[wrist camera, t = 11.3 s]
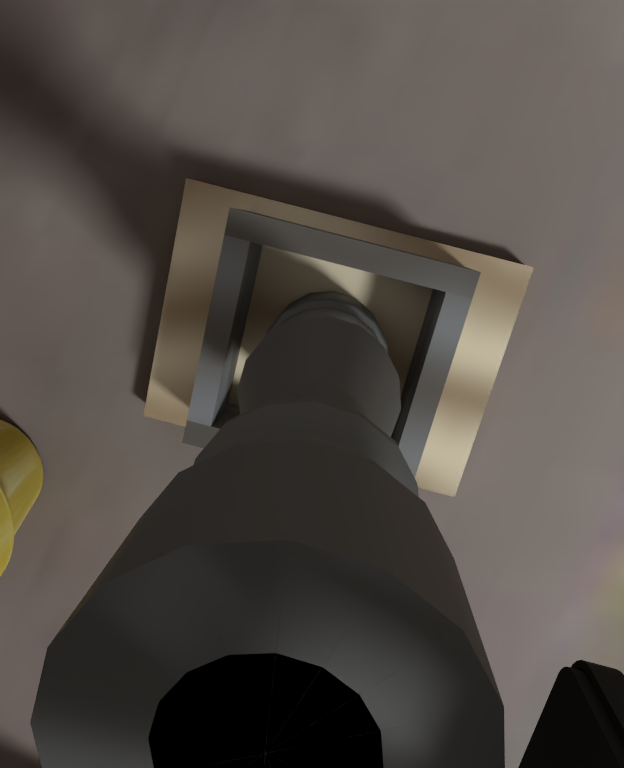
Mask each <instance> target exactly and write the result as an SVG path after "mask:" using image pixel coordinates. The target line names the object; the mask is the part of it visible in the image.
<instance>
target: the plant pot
mask: <svg viewBox="0 0 624 768" xmlns="http://www.w3.org/2000/svg"><path fill="white" fill-rule="evenodd" d="M42 483H43V467H42V462H41V459H40V456H39V454H38V452H37V450H36V448H35V447H34V445H33V443H32V442H31V441H30V440H29V438H28V437H27V436H26V435H25V434H24V433H22V432H21V431H20V430H19V429H18V428H16V427H15V426H13V425H11V424H10V423H8V422H5V421H3V420H0V576H1V575H2V573H3V572H4V570H5V568H6V566H7V564H8V562H9V559H10V557H11V554H12V549H13V544H14V535H15V534H16V532H17V530H18V529H19V527H20V525H21V524H22V522H23V520H24V519H25V517H26V515H27V514H28V512H29V510H30V509H31V507H32V506H33V504H34V502H35V501H36V499H37V497H38V495H39V494H40V491H41V488H42Z"/></svg>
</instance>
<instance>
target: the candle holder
mask: <svg viewBox="0 0 624 768" xmlns="http://www.w3.org/2000/svg"><path fill="white" fill-rule="evenodd" d="M237 393H238V401H239V409H240V415H239V416H237V417H235V418H233V419H230V420H228V421H227V422H226V423H225V424H224V425H223V426H222V428H221V429H220V430H219V431H218V432H217V434H216V435H215V436H214V437H213V438H212V439H211V441H210V442H209V443H208V444H207V445H206V447H205V448H204V449H203V450H202V451H201V453H200V454H199V455H198V456H197V458H196V459H195V462H194V465H193V466H191V467H189V468H187V469H185V470H183V471H181V472H179V473H178V474H177V475H176V476H175V477H174V479H173V480H172V481H171V482H170V483H169V485H168V486H167V487H166V488H165V489H164V491H163V492H162V493H161V494H160V495H159V497H158V498H157V499H156V500H155V501H154V502H153V504H152V505H151V506H150V507H149V508H148V510H147V511H146V512H145V513H144V514H143V516H142V517H141V518H140V519H139V521H138V522H137V523H136V525H135V526H134V528H133V529H132V530H131V532H130V533H129V534H128V536H127V537H126V539H125V540H124V541H123V543H122V544H121V546H120V547H119V548H118V550H117V551H116V553H115V554H114V555H113V557H112V558H111V560H110V561H109V562H108V564H107V565H106V567H105V568H104V569H103V571H102V572H101V574H100V575H99V576H98V578H97V579H96V581H95V582H94V583H93V585H92V586H91V588H90V589H89V590H88V592H87V593H86V595H85V596H84V597H83V599H82V600H81V602H80V603H79V604H78V606H77V607H76V609H75V610H74V611H73V613H72V614H71V616H70V617H69V618H68V620H67V621H66V623H65V624H64V625H63V627H62V628H61V630H60V631H59V632H58V634H57V635H56V637H55V638H54V639H53V641H52V642H51V644H50V645H49V646H48V648H47V652H46V657H45V661H44V665H43V670H42V674H41V678H40V683H39V687H38V692H37V696H36V700H35V705H34V709H33V714H32V718H31V722H30V723H31V727H32V731H33V735H34V739H35V743H36V747H37V751H38V755H39V759H40V763H41V767H42V768H505V756H504V706H503V703H502V700H501V697H500V694H499V691H498V688H497V685H496V682H495V679H494V676H493V673H492V670H491V667H490V664H489V661H488V658H487V655H486V652H485V649H484V646H483V643H482V640H481V637H480V635H479V632H478V629H477V626H476V623H475V620H474V617H473V614H472V611H471V608H470V605H469V602H468V599H467V596H466V593H465V590H464V587H463V584H462V581H461V578H460V575H459V572H458V569H457V566H456V563H455V560H454V558H453V556H452V554H451V552H450V550H449V548H448V546H447V544H446V542H445V540H444V538H443V536H442V534H441V533H440V531H439V529H438V527H437V525H436V523H435V521H434V519H433V517H432V515H431V513H430V511H429V509H428V507H427V505H426V504H425V502H424V501H422V500H421V499H420V498H419V497H418V485H417V482H416V480H415V478H414V476H413V474H412V472H411V470H410V468H409V466H408V464H407V462H406V460H405V458H404V456H403V455H402V453H401V451H400V449H399V447H398V445H397V443H396V441H395V440H394V439H392V438H391V435H392V432H393V430H394V427H395V424H396V422H397V419H398V416H399V413H400V411H401V399H400V381H399V376H398V373H397V371H396V369H395V367H394V365H393V363H392V361H391V359H390V357H389V355H388V345H387V342H386V340H385V337H384V335H383V332H382V330H381V328H380V326H379V324H378V322H377V320H376V318H375V316H374V314H373V313H372V312H371V311H370V310H369V309H367V308H366V307H365V306H364V305H363V304H362V303H360V302H359V301H358V300H357V299H356V298H353V297H350V296H347V295H344V294H341V293H338V292H335V291H327V292H316V293H309V294H307V295H305V296H303V297H301V298H299V299H297V300H296V301H294V302H292V303H290V304H289V305H288V306H287V307H286V308H285V310H284V311H283V312H282V313H281V314H280V316H279V317H278V318H277V319H276V321H275V322H274V323H273V324H272V326H271V327H270V328H269V329H268V331H267V333H266V336H265V337H264V338H263V340H262V341H261V342H260V343H259V344H258V346H257V347H256V348H255V349H254V350H253V352H252V353H251V354H250V355H249V357H248V358H247V359H246V361H245V364H244V368H243V371H242V375H241V378H240V382H239V385H238V389H237Z"/></svg>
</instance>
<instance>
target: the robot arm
mask: <svg viewBox="0 0 624 768" xmlns="http://www.w3.org/2000/svg"><path fill="white" fill-rule="evenodd" d="M519 768H624V675H623V674H622V672H621V671H619V670H617V669H614V668H610V667H606V666H602V665H598V664H595V663H591V662H587V661H583V660H579V661H576V662H575V663H574V664H573V665H572V666H571V668H570V667H564V668H562V669H561V670H560V672H559V674H558V676H557V678H556V681H555V683H554V685H553V688H552V690H551V692H550V695H549V697H548V700H547V702H546V704H545V707H544V709H543V711H542V714H541V716H540V718H539V721H538V723H537V725H536V728H535V730H534V732H533V735H532V737H531V739H530V742H529V744H528V746H527V749H526V751H525V753H524V756H523V758H522V761H521V763H520V765H519Z"/></svg>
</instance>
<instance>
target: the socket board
mask: <svg viewBox="0 0 624 768" xmlns="http://www.w3.org/2000/svg"><path fill="white" fill-rule="evenodd" d="M533 268H534V267H530V266H526V265H523V264H519V263H515V262H511V261H507V260H503V259H499V258H495V257H491V256H488V255H484V254H480V253H476V252H472V251H468V250H464V249H460V248H457V247H453V246H449V245H445V244H441V243H437V242H433V241H429V240H425V239H422V238H418V237H414V236H410V235H406V234H402V233H398V232H394V231H390V230H387V229H383V228H379V227H375V226H371V225H367V224H363V223H359V222H356V221H352V220H348V219H344V218H340V217H336V216H332V215H328V214H324V213H321V212H317V211H313V210H309V209H305V208H301V207H297V206H293V205H289V204H286V203H282V202H278V201H274V200H270V199H266V198H262V197H258V196H255V195H251V194H247V193H243V192H239V191H235V190H231V189H227V188H223V187H220V186H216V185H212V184H208V183H204V182H200V181H196V180H192V179H188V178H186V181H185V187H184V192H183V198H182V204H181V209H180V215H179V220H178V226H177V232H176V237H175V243H174V248H173V254H172V259H171V265H170V271H169V276H168V282H167V287H166V293H165V298H164V304H163V310H162V315H161V321H160V326H159V332H158V338H157V343H156V349H155V354H154V360H153V365H152V371H151V377H150V382H149V388H148V393H147V399H146V405H145V410H144V416H146V417H150V418H154V419H158V420H162V421H166V422H169V423H173V424H177V425H181V426H185V432H184V437H183V442H182V443H186V444H190V445H194V446H197V447H201V448H205V447H206V445H207V444H208V443H209V442H210V441H211V439H212V438H213V437H214V436H215V435H216V434H217V432H218V431H219V430H220V429H221V428H222V426H223V425H224V424H225V423H226V422H227V421H228V420H230V419H233V418H235V417H237V416H239V415H240V409H239V401H238V393H237V389H238V385H239V382H240V378H241V375H242V371H243V368H244V364H245V361H246V359H247V358H248V357H249V355H250V354H251V353H252V352H253V350H254V349H255V348H256V347H257V346H258V344H259V343H260V342H261V341H262V340H263V338H264V337H265V336H266V333H267V331H268V329H269V328H270V327H271V326H272V324H273V323H274V322H275V321H276V319H277V318H278V317H279V316H280V314H281V313H282V312H283V311H284V310H285V308H286V307H287V306H288V305H289V304H290V303H292V302H294V301H296V300H297V299H299V298H301V297H303V296H305V295H307V294H309V293H316V292H327V291H335V292H338V293H341V294H344V295H347V296H350V297H353V298H356V299H357V300H358V301H359V302H360V303H362V304H363V305H364V306H365V307H366V308H367V309H369V310H370V311H371V312H372V313H373V314H374V316H375V318H376V320H377V322H378V324H379V326H380V328H381V330H382V332H383V335H384V337H385V340H386V342H387V345H388V355H389V357H390V359H391V361H392V363H393V365H394V367H395V369H396V371H397V373H398V376H399V381H400V399H401V411H400V413H399V416H398V419H397V422H396V424H395V427H394V430H393V432H392V435H391V438H392V439H394V440H395V441H396V443H397V445H398V447H399V449H400V451H401V453H402V455H403V456H404V458H405V460H406V462H407V464H408V466H409V468H410V470H411V472H412V474H413V476H414V478H415V480H416V482H417V485H418V488H422V489H426V490H430V491H434V492H437V493H441V494H445V495H449V496H453V497H455V494H456V492H457V489H458V486H459V483H460V480H461V477H462V474H463V471H464V468H465V465H466V463H467V460H468V457H469V454H470V451H471V448H472V445H473V442H474V439H475V436H476V434H477V431H478V428H479V425H480V422H481V419H482V416H483V413H484V410H485V407H486V405H487V402H488V399H489V396H490V393H491V390H492V387H493V384H494V381H495V378H496V376H497V373H498V370H499V367H500V364H501V361H502V358H503V355H504V352H505V349H506V347H507V344H508V341H509V338H510V335H511V332H512V329H513V326H514V323H515V321H516V318H517V315H518V312H519V309H520V306H521V303H522V300H523V297H524V294H525V292H526V289H527V286H528V283H529V280H530V277H531V274H532V271H533Z"/></svg>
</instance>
